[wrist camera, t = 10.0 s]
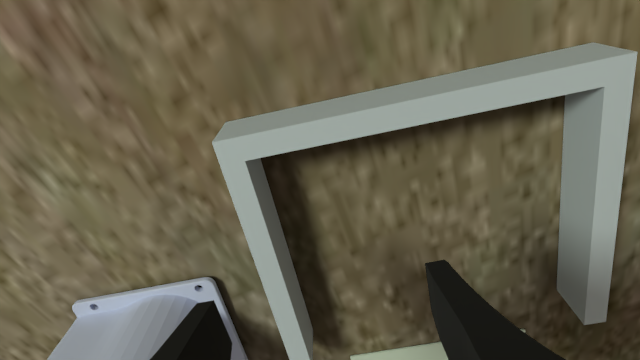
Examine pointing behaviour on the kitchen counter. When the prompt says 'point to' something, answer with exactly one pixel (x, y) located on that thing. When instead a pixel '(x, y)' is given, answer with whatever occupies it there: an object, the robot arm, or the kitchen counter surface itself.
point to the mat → (408, 353)
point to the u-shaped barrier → (440, 104)
